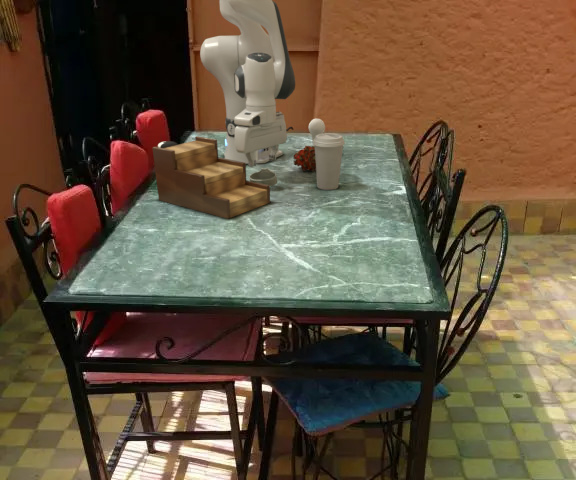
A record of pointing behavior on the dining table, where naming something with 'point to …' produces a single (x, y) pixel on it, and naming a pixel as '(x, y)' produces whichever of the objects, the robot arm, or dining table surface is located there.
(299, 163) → the dragon fruit
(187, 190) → the step shelf
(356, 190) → the dining table surface
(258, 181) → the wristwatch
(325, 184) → the coffee cup
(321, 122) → the lightbulb
